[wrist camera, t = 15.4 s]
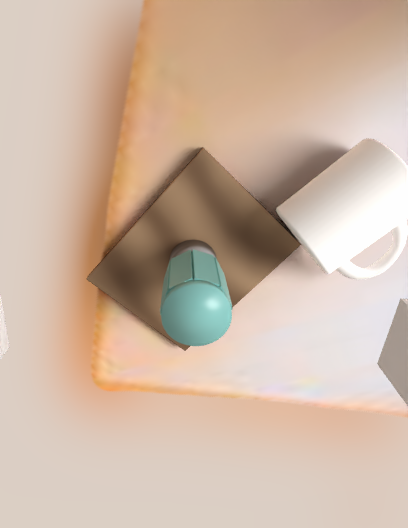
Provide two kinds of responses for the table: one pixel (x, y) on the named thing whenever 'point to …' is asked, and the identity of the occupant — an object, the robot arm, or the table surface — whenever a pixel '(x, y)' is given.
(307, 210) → the mug
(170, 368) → the table surface
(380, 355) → the robot arm
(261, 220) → the stud board
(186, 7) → the table surface
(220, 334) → the cap
